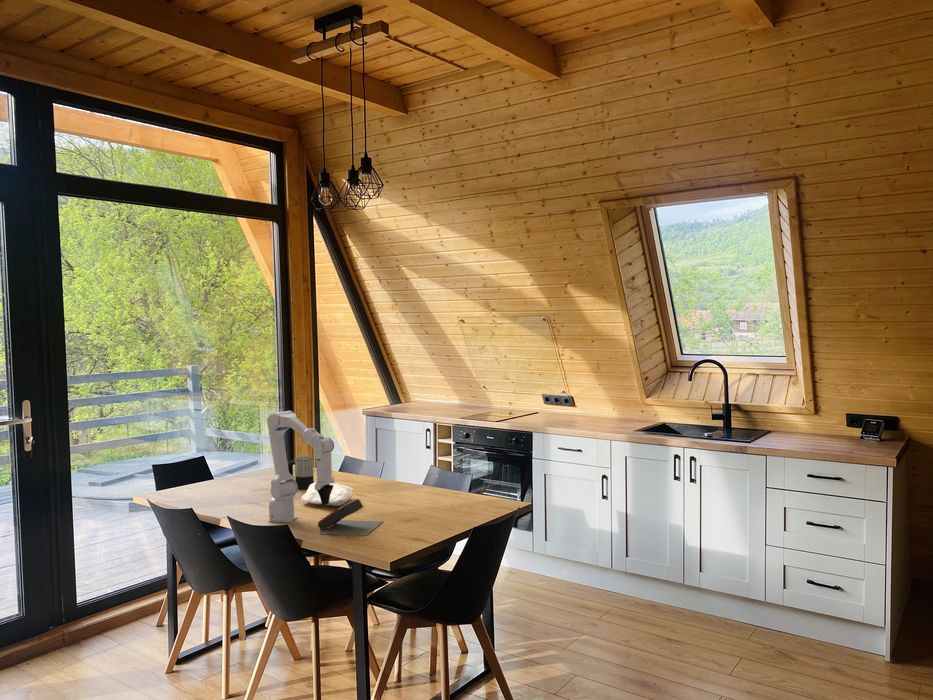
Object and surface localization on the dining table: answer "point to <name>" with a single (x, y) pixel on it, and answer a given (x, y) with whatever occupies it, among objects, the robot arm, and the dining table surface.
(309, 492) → the crumpled cloth
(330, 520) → the calculator
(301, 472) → the milk frother
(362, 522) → the placemat
